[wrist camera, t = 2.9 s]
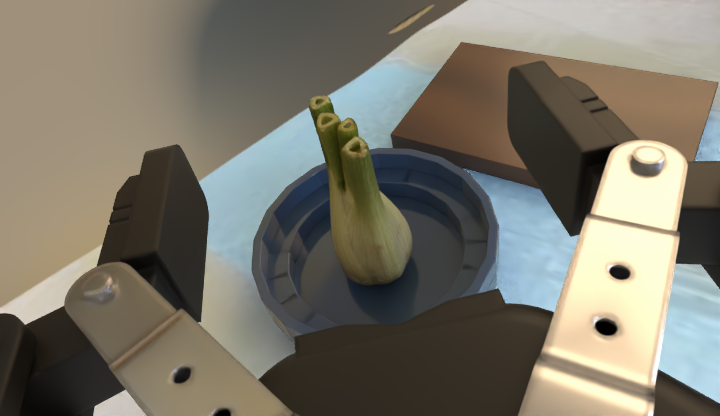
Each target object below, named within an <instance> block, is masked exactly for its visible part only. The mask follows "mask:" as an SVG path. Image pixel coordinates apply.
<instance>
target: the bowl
mask: <svg viewBox="0 0 720 416" xmlns="http://www.w3.org/2000/svg"><path fill="white" fill-rule="evenodd" d="M369 152H370V155H371V159H372V163H373V168H374V172H375V176H376V180H377V184H378V187H379V191H380V192H382V193H383V194H384V195H385V196H386V197H387V198H388V199H389V200H390V201H391V202H392V203H393V204H394V205H395V206H396V207H397V208H398V209H399V211H400V212H401V214H402V215H403V216H404V218H405V219H406V221H407V223H408V225H409V228H410V231H411V234H412V252H411V255H410V258H409V261H408V263H407V264H406V266H405V269H404V272H403V273H402V275H401V276H400V277H399V278H398V279H396V280H394V281H392V282H391V283H388V284H382V285H378V284H376V285H371V286H364V285H360V284H357V283H355V282H353V281H351V280H350V279H349V278H348V277H347V276H346V275H345V274H344V272H343V269H342V266H341V264H340V262H339V260H338V258H337V256H336V253H335V250H334V245H333V238H332V229H331V216H330V188H329V177H328V171H327V167H326V163H323V164H321V165H319V166H316V167H314V168H312V169H311V170H310V171H308V172H307V173H305V174H304V175H303V176H301V177H300V178H298V179H297V180H296V181H294V182H293V183H291V184H290V185H289V186H287V187H286V188H285V190H284V191H283V192H282V193H281V194H280V195H279V197H278V198H277V199H276V200H275V201H274V202H273V204H272V205H271V206H270V207H269V208H268V210H267V212H266V213H265V215H264V217H263V220H262V222H261V224H260V226H259V229H258V231H257V233H256V235H255V238H254V242H253V256H252V273H253V276H254V279H255V282H256V285H257V288H258V291H259V294H260V297H261V300H262V301H263V303H264V305H265V306H266V308H267V310H268V311H269V313H270V315H271V316H272V318H273V320H274V321H275V323H276V324H277V326H278V327H279V328H280V329H281V330H282V331H283V332H284V333H285V335H286V336H287V337H288V338H289V339H290V340H291V341H292V342H293V344H294V345H295V339H294V336H298V335H302V334H307V333H311V332H315V331H319V330H324V329H328V328H332V327H337V326H341V325H357V324H399V323H402V322H405V321H407V320H409V319H411V318H413V317H415V316H417V315H419V314H421V313H423V312H425V311H427V310H429V309H432V308H434V307H436V306H438V305H440V304H442V303H444V302H446V301H448V300H452V299H456V298H460V297H464V296H469V295H473V294H477V293H482V292H486V291H490V290H494V289H495V287H496V280H497V269H498V257H499V225H498V222H497V219H496V216H495V213H494V210H493V207H492V204H491V201H490V198H489V196H488V195H487V194H486V192H485V191H484V190H483V189H482V188H481V187H480V185H479V184H478V183H477V182H476V181H475V179H474V178H473V177H472V176H471V175H470V174H469V173H468V172H466V171H464V170H463V169H461V168H459V167H458V166H456V165H454V164H453V163H451V162H449V161H448V160H446V159H444V158H442V157H439V156H436V155H432V154H428V153H424V152H421V151H417V150H413V149H397V148H378V149H377V148H376V149H371V150H369Z"/></svg>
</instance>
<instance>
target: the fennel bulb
mask: <svg viewBox="0 0 720 416" xmlns="http://www.w3.org/2000/svg"><path fill="white" fill-rule="evenodd" d="M309 109H310V112H311V115H312V118H313V120H314V124H315V128H316V131H317V134H318V136H319V140H320V143H321V147H322V151H323V154H324V158H325V162H326V167H327V171H328V177H329V188H330V216H331V229H332V238H333V245H334V250H335V253H336V256H337V258H338V260H339V262H340V264H341V266H342V269H343V272H344V274H345V275H346V276H347V277H348V278H349V279H350V280H351V281H353V282H355V283H357V284H360V285H364V286H371V285H376V284H378V285H382V284H388V283H391V282H392V281H394V280H396V279H398V278H399V277H400V276H401V275H402V273H403V272H404V269H405V266H406V264H407V263H408V261H409V258H410V255H411V252H412V234H411V231H410V228H409V225H408V223H407V221H406V219H405V218H404V216H403V215H402V214H401V212H400V211H399V209H398V208H397V207H396V206H395V205H394V204H393V203H392V202H391V201H390V200H389V199H388V198H387V197H386V196H385V195H384V194H383V193H382V192H380V191H379V187H378V184H377V180H376V176H375V172H374V168H373V163H372V159H371V155H370V152H369V148H368V145H367V143H366V142H365V141H364V140H363V139H362V138H360V137H359V136H358V129H357V125H356V123H355V121H354V120H353V119H352V118H347V119H345V120H344V121H343V122H342V123H341V121H340V119H339V117H338V116H337V115H336V114H335V113H334V109H333V105H332V103H331V100H330V98H329V97H328V96H322V95H321V96H315V97H313V98H311V100H310V106H309Z"/></svg>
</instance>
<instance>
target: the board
mask: <svg viewBox="0 0 720 416" xmlns="http://www.w3.org/2000/svg"><path fill="white" fill-rule="evenodd" d="M541 60H543V61H545V62H546V63H547V64H548V65H549V67H550V68H551V69H552V70H553V71H554V72H555V73H556V74H557V75H558V77H559V78H560V77H565V76H570V77H572V78H574V79H576V80H579V81H581V82H583V83H585V84H587V85H588V86H589V87H590V88H591V89H592V90H593V91H594V92H595V93H596V94H597V95H598V96H599V99H601V100H602V101H603V102H604V103H605V104H606V105H607V106H608V109H611V110H612V111H613V112H614V113H615V114H616V115H617V116H618V117H619V118H620V119H621V120H622V121H623V122H624V123H625V125H626V126H627V127H628V128H629V129H630V130H631V131H632V132H633V133H634V134H635V135H636V136H637V137H638V138H639V139H640V140H650V141H656V142H661V143H664V144H667V145H669V146H671V147H673V148H675V149H677V150H678V151H679V152H681V153H682V155H683V156H684V157H685V159H686V160H687V161H694V160H695V156H696V153H697V150H698V147H699V144H700V141H701V137H702V134H703V131H704V128H705V125H706V121H707V118H708V115H709V112H710V109H711V106H712V102H713V99H714V96H715V93H716V90H717V87H718V82H713V81H707V80H700V79H694V78H687V77H681V76H675V75H668V74H662V73H655V72H649V71H643V70H636V69H630V68H624V67H617V66H611V65H604V64H598V63H592V62H585V61H579V60H572V59H566V58H560V57H553V56H547V55H541V54H534V53H528V52H521V51H515V50H509V49H502V48H496V47H490V46H483V45H477V44H470V43H464V42H461V43H460V45H459V46H458V47H457V48H456V50H455V51H454V52H453V54H452V55H451V56H450V58H449V59H448V60H447V62H446V63H445V64H444V65H443V67H442V68H441V69H440V71H439V72H438V73H437V75H436V76H435V77H434V79H433V80H432V81H431V82H430V84H429V85H428V86H427V88H426V89H425V90H424V92H423V93H422V94H421V96H420V97H419V98H418V99H417V101H416V102H415V103H414V105H413V106H412V107H411V109H410V110H409V111H408V113H407V114H406V115H405V116H404V118H403V119H402V120H401V122H400V123H399V124H398V126H397V127H396V128H395V130H394V131H393V132H392V133H391V139H392V144H393V148H397V149H413V150H417V151H421V152H424V153H428V154H432V155H436V156H439V157H442V158H444V159H446V160H448V161H449V162H451V163H453V164H454V165H456V166H460V167H463V168H467V169H471V170H474V171H478V172H482V173H485V174H489V175H493V176H496V177H500V178H504V179H507V180H511V181H515V182H518V183H522V184H526V185H529V186H533V187H537V188H539V187H538V185H537V183H536V182H535V180H534V179H533V177H532V176H531V174H530V172H529V171H528V169H527V168H526V166H525V165H524V163H523V162H522V160H521V158H520V157H519V155H518V154H517V152H516V151H515V149H514V147H513V146H512V143H511V141H510V138H509V134H508V128H507V101H508V73H509V70H510V68H512V67H515V66H519V65H524V64H528V63H532V62H537V61H541Z"/></svg>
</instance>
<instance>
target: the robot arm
mask: <svg viewBox="0 0 720 416" xmlns="http://www.w3.org/2000/svg"><path fill="white" fill-rule="evenodd" d="M507 128H508V134H509V138H510V141H511V143H512V146H513V147H514V149H515V151H516V152H517V154H518V155H519V157H520V158H521V160H522V162H523V163H524V165H525V166H526V168H527V169H528V171H529V172H530V174H531V176H532V177H533V179H534V180H535V182H536V183H537V185H538V187H539V188H540V190H541V191H542V193H543V194H544V196H545V197H546V199H547V201H548V202H549V204H550V205H551V207H552V208H553V210H554V212H555V213H556V215H557V216H558V218H559V219H560V221H561V222H562V224H563V226H564V227H565V229H566V230H567V232H568V233H569V235H570V237H571V236H575V235H579V239H578V242H577V245H576V248H575V251H574V254H573V257H572V260H571V263H570V266H569V269H568V272H567V275H566V278H565V281H564V285H563V288H562V291H561V294H560V297H559V300H558V303H557V306H556V309H555V312H552V311H549V310H545V309H542V308H539V307H534V306H529V305H523V304H505V302H504V300H503V297H502V295H501V293H500V291H499V289H494V290H490V291H486V292H482V293H477V294H473V295H469V296H464V297H460V298H456V299H452V300H448V301H446V302H444V303H442V304H440V305H438V306H436V307H434V308H432V309H429V310H427V311H425V312H423V313H421V314H419V315H417V316H415V317H413V318H411V319H409V320H407V321H405V322H402V323H399V324H357V325H341V326H337V327H332V328H328V329H324V330H319V331H315V332H311V333H307V334H302V335H298V336H294V339H295V351H296V353H294V354H292V355H290V356H288V357H286V358H285V359H283V360H281V361H280V362H278V363H277V364H276V365H274V366H273V367H272V368H270V369H269V370H268V371H267V372H266V373H265V374H264V375H263V376H262V377H261V378H260V379H257V378H255V377H254V376H253V375H252V374H251V373H250V372H249V371H248V370H247V369H246V368H245V367H244V366H243V365H242V364H241V363H240V362H239V361H237V360H236V359H235V358H234V357H233V356H232V355H231V354H230V353H229V352H228V351H227V350H226V349H225V348H224V347H223V346H222V345H221V344H220V343H218V342H217V341H216V340H215V339H214V338H213V337H212V336H211V335H210V334H209V333H208V332H207V331H206V330H205V329H204V328H203V327H202V326H200V325H199V324H198V322H201V313H202V300H203V287H204V274H205V260H206V247H207V234H208V221H209V212H208V206H207V201H206V198H205V195H204V193H203V191H202V188H201V186H200V184H199V182H198V180H197V178H196V176H195V174H194V172H193V170H192V168H191V166H190V164H189V162H188V160H187V158H186V156H185V154H184V152H183V150H182V148H181V147H180V146H179V145H177V144H176V145H172V146H167V147H163V148H160V149H155V150H150V151H147V152H145V155H144V158H143V162H142V166H141V171H140V175H136V176H131V177H129V178H128V180H127V181H126V182H125V183H124V185H123V186H122V187H121V189H120V190H119V191H118V192H117V195H116V199H115V202H114V206H113V212H112V214H111V217H110V220H109V222H110V225H108V228H107V231H106V235H105V238H104V242H103V246H102V249H101V253H100V256H99V260H98V264H97V267H95V268H93V269H91V270H90V271H88V272H86V273H85V274H84V275H82V276H81V277H80V278H79V279H78V280H77V281H76V282H75V283H74V284H73V285H72V286H71V288H70V289H69V291H68V293H67V295H66V298H65V304H64V306H63V307H61V308H59V309H57V310H55V311H53V312H51V313H49V314H47V315H45V316H43V317H41V318H38V319H36V320H34V321H32V322H30V323H28V324H26V325H25V324H24V323H23V322H22V321H21V320H20V319H19V318H18V317H16V316H15V315H12V314H7V313H3V314H0V416H93V413H94V407H95V406H96V405H98V404H100V403H101V402H103V401H105V400H107V399H109V398H111V397H113V396H114V395H116V394H118V393H120V392H122V391H124V390H127V392H128V393H129V394H130V395H131V397H132V398H133V399H134V400H135V402H136V403H137V404H138V405H139V407H140V408H141V409H142V410H143V412H144V413H145V414H146V415H147V416H720V404H719V403H718V402H716V401H714V400H712V399H710V398H709V397H707V396H705V395H703V394H701V393H700V392H698V391H696V390H694V389H693V388H691V387H689V386H687V385H685V384H684V383H682V382H680V381H678V380H676V379H675V378H673V377H671V376H669V375H668V374H666V373H664V372H662V371H660V370H659V369H658V364H659V358H660V352H661V346H662V340H663V334H664V328H665V322H666V316H667V310H668V304H669V298H670V292H671V286H672V280H673V274H674V268H675V264H701V265H702V266H703V267H704V269H705V270H706V271H707V273H708V274H709V275H710V277H711V278H712V279H713V281H714V282H715V283H716V285H717V286H718V287H719V289H720V161H687V160H686V159H685V157H684V156H683V155H682V153H681V152H679V151H678V150H677V149H675V148H673V147H671V146H669V145H667V144H664V143H661V142H656V141H650V140H640V139H639V138H638V137H637V136H636V135H635V134H634V133H633V132H632V131H631V130H630V129H629V128H628V127H627V126H626V125H625V123H624V122H623V121H622V120H621V119H620V118H619V117H618V116H617V115H616V114H615V113H614V112H613V111H612V110H611V109H608V106H607V105H606V104H605V103H604V102H603V101H602V100H601V99H599V96H598V95H597V94H596V93H595V92H594V91H593V90H592V89H591V88H590V87H589V86H588V85H587V84H585V83H583V82H581V81H579V80H576V79H574V78H572V77H570V76H565V77H560V78H559V77H558V75H557V74H556V73H555V72H554V71H553V70H552V69H551V68H550V67H549V65H548V64H547V63H546V62H545V61H543V60H541V61H537V62H532V63H528V64H524V65H519V66H515V67H512V68H510V70H509V73H508V101H507Z"/></svg>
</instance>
